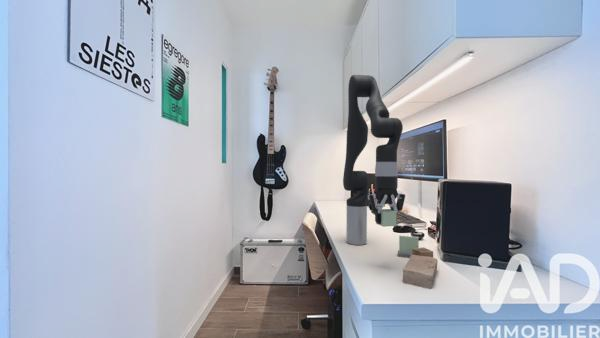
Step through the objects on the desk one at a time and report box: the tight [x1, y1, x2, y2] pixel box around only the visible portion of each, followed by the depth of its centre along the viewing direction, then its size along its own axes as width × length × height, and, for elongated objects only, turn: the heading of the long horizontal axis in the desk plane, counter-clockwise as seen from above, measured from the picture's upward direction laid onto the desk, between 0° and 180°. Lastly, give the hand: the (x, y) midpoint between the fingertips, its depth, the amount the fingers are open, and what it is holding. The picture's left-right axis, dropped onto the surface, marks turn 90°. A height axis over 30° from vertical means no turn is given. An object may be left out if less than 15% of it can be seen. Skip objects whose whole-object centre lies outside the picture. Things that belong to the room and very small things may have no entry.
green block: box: [375, 208, 398, 228], centre depth 93 cm, size 5×5×5 cm
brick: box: [402, 255, 438, 290], centre depth 85 cm, size 17×8×5 cm, turn 148°
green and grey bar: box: [397, 234, 420, 259], centre depth 105 cm, size 4×8×8 cm, turn 68°
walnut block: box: [412, 247, 434, 258], centre depth 97 cm, size 5×5×5 cm
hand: (385, 223), depth 93 cm, fingers closed on green block, 5 cm apart
